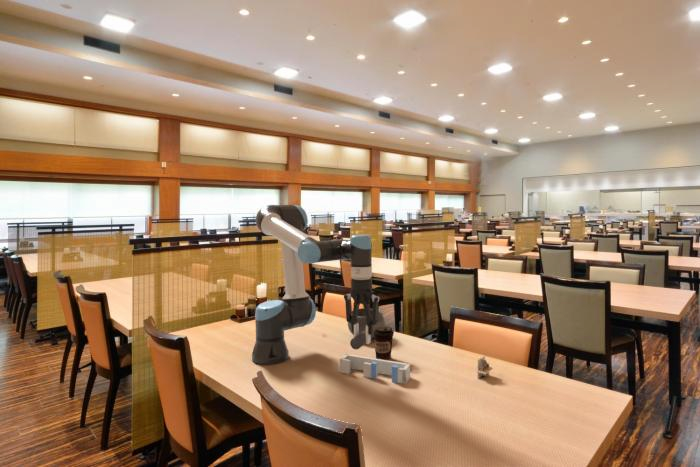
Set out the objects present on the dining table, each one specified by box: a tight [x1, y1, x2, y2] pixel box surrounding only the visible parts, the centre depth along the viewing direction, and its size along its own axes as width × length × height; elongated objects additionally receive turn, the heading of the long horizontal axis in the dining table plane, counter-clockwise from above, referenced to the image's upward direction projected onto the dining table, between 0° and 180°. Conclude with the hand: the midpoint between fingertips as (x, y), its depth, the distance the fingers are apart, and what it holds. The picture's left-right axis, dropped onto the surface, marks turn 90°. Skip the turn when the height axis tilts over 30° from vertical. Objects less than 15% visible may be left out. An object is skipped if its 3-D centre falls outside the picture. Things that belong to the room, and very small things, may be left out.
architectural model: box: [476, 355, 494, 379], centre depth 146 cm, size 3×7×7 cm, turn 138°
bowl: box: [347, 307, 386, 339], centre depth 193 cm, size 18×18×13 cm
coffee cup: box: [373, 325, 395, 361], centre depth 165 cm, size 9×8×13 cm
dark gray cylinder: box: [349, 330, 374, 351], centre depth 143 cm, size 12×4×4 cm, turn 155°
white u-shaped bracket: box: [339, 353, 411, 385], centre depth 149 cm, size 26×6×6 cm, turn 66°
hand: (362, 342), depth 144 cm, fingers closed on dark gray cylinder, 4 cm apart
